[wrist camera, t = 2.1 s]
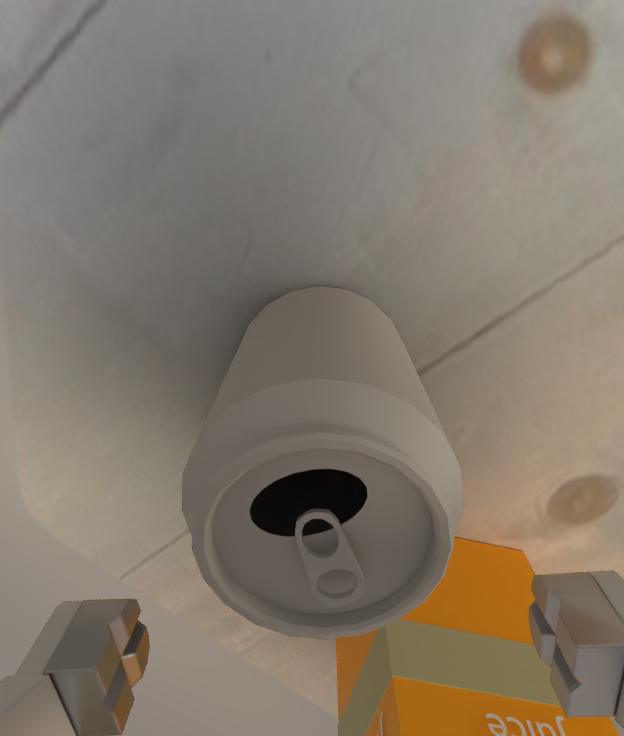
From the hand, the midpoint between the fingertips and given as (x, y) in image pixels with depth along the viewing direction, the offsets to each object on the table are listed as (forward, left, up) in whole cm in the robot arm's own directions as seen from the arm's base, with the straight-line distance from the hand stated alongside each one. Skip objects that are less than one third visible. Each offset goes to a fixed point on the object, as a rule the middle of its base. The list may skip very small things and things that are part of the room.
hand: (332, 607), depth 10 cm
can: (0, 0, -14) cm, 14 cm away
